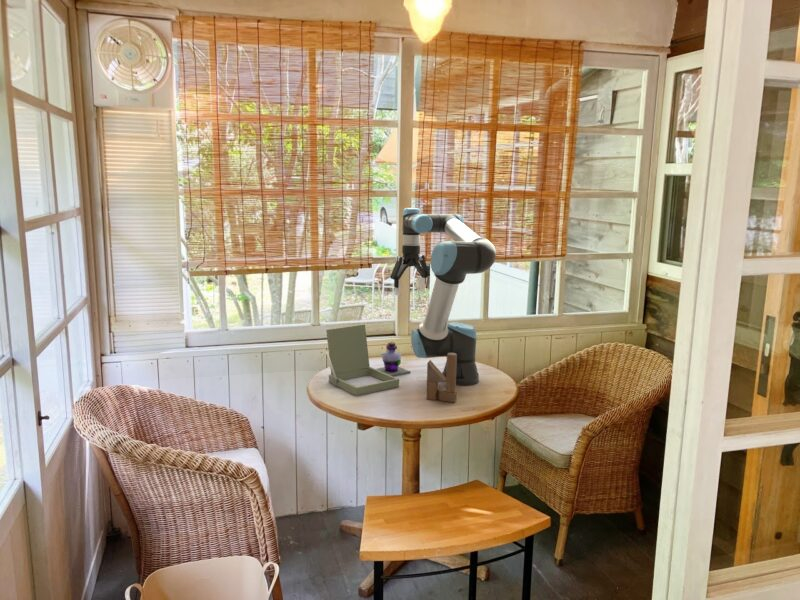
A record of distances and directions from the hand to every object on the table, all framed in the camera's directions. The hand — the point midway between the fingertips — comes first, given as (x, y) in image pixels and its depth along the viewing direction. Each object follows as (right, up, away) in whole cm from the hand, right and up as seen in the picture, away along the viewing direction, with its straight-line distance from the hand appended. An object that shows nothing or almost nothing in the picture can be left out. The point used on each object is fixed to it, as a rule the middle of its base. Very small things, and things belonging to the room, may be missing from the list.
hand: (410, 293), depth 271 cm
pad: (-8, -33, -6) cm, 35 cm away
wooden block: (+11, -40, -39) cm, 57 cm away
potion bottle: (-8, -33, -6) cm, 34 cm away
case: (-20, -36, -21) cm, 46 cm away
